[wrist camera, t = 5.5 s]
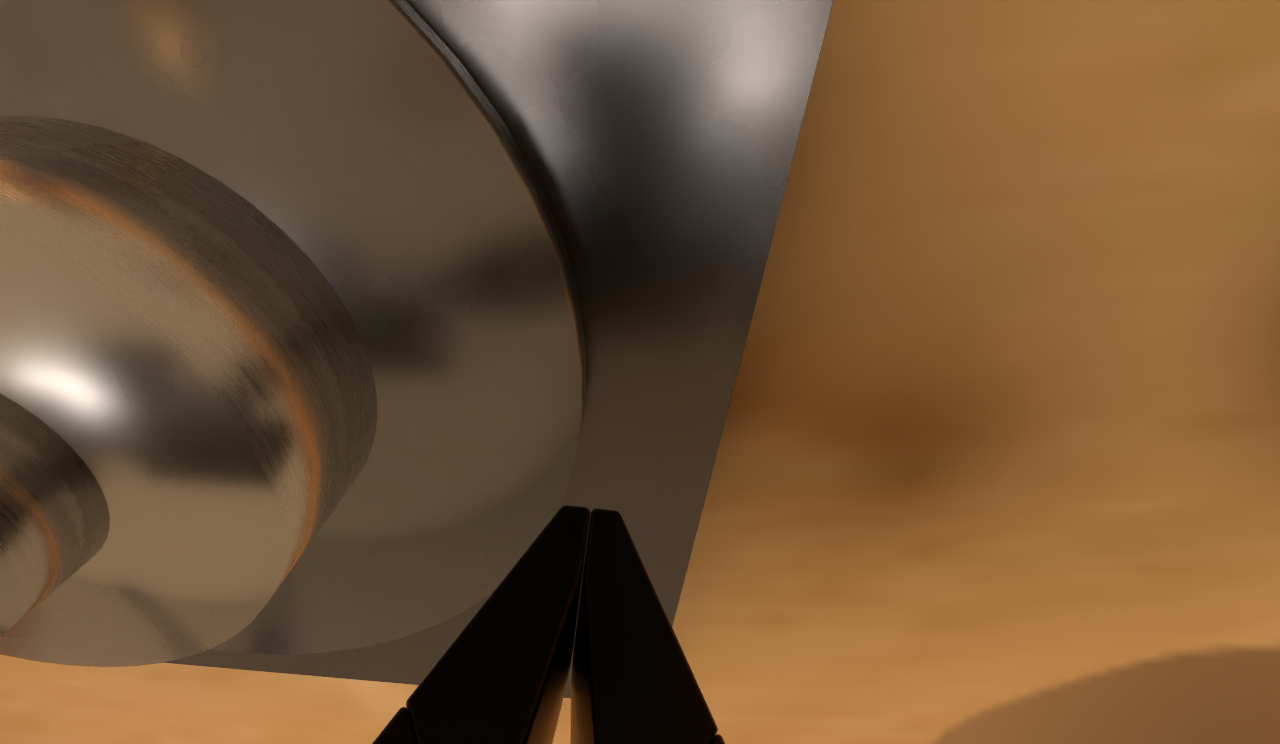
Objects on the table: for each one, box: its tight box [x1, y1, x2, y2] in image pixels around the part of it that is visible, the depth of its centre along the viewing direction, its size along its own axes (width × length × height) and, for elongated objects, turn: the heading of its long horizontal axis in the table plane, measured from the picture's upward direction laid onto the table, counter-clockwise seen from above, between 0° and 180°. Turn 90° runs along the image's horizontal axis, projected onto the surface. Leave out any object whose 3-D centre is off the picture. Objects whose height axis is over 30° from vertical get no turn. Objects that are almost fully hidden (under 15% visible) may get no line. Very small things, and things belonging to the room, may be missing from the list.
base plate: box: [163, 0, 833, 698], centre depth 11 cm, size 22×22×1 cm
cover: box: [0, 115, 377, 667], centre depth 8 cm, size 8×8×4 cm
